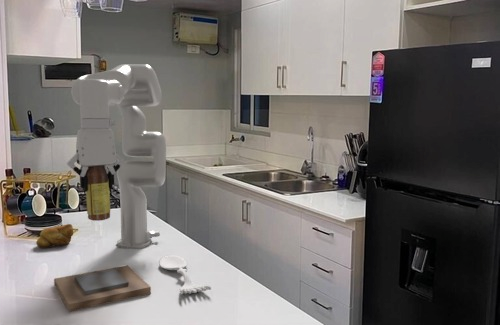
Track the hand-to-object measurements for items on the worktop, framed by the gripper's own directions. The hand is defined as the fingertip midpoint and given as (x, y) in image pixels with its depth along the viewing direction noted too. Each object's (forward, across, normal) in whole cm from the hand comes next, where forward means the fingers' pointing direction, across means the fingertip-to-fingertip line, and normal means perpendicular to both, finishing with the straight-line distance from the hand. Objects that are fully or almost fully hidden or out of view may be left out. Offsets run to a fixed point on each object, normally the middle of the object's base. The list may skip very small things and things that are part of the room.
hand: (97, 188), depth 131 cm
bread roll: (+30, +4, -50) cm, 58 cm away
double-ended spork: (+30, -23, +4) cm, 38 cm away
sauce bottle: (+9, 0, 0) cm, 9 cm away
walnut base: (+30, 0, 0) cm, 30 cm away
